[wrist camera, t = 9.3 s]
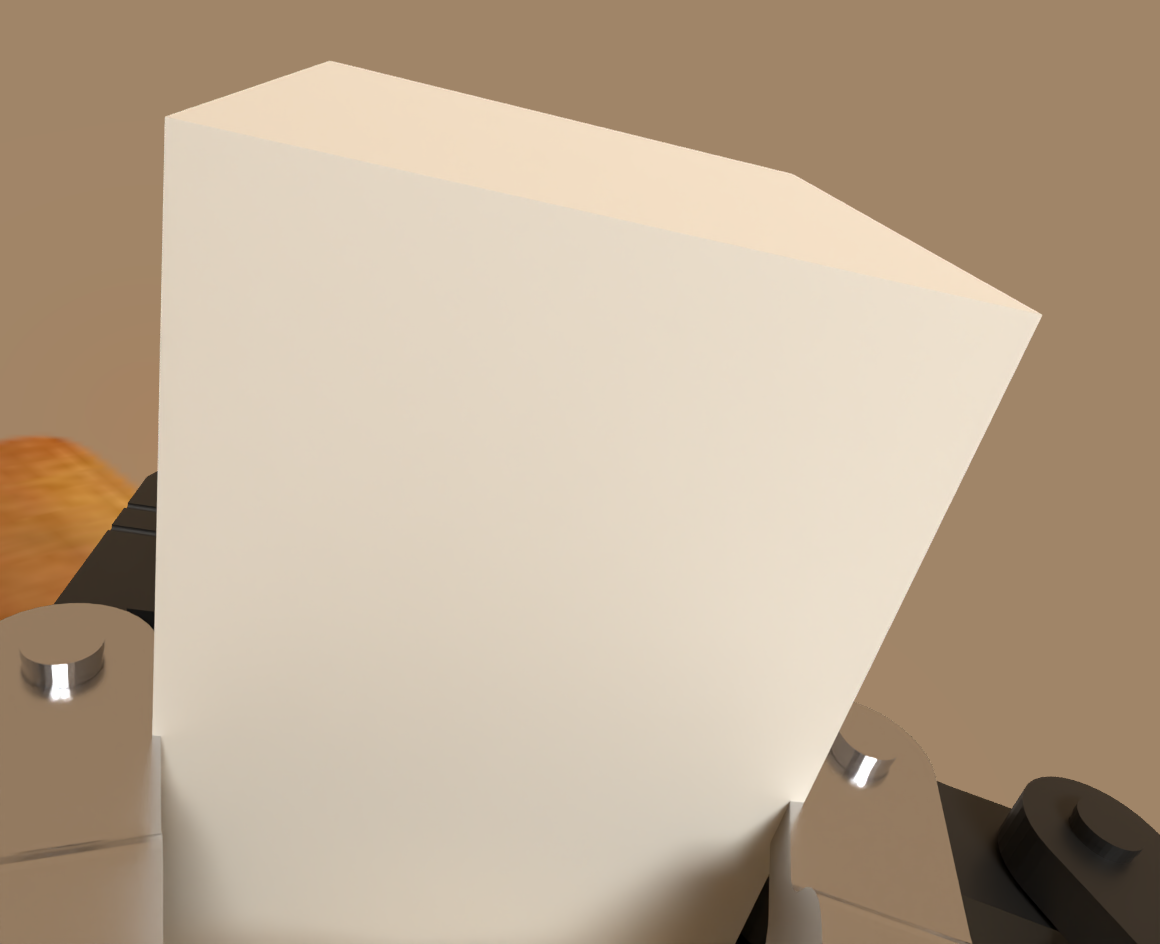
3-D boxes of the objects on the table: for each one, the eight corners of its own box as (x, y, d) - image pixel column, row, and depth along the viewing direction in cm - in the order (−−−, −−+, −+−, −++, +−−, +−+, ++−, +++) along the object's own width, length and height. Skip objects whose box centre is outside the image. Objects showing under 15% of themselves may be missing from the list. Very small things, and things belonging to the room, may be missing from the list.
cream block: (140, 1311, 9) (164, 116, 4) (246, 919, 13) (329, 60, 8) (557, 1307, 10) (1043, 314, 5) (539, 938, 14) (793, 174, 9)
